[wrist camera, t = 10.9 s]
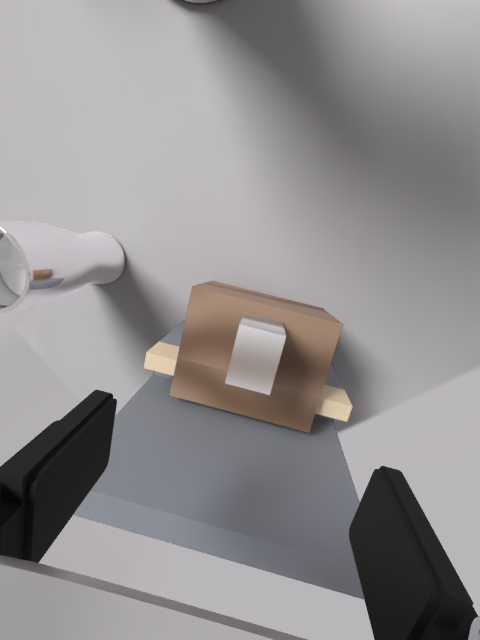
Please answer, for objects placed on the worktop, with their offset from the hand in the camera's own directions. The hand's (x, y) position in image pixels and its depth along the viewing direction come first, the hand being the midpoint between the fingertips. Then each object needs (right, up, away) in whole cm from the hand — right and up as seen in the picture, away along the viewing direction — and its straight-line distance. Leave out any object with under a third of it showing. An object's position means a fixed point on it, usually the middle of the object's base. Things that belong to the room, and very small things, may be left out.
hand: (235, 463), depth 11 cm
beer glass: (-16, +12, +26) cm, 33 cm away
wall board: (+1, 0, +27) cm, 27 cm away
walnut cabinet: (+2, +3, +23) cm, 23 cm away
